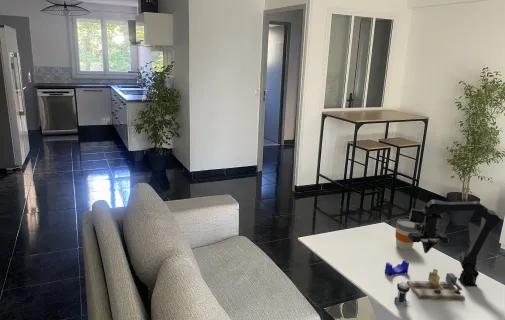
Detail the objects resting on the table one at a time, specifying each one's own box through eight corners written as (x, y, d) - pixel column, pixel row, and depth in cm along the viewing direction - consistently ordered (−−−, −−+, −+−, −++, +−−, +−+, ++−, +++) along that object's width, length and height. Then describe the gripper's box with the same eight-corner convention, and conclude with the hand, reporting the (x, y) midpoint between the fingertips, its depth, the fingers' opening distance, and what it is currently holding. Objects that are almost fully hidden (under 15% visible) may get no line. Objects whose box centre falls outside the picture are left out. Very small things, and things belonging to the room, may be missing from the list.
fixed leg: (450, 282, 191) (452, 273, 189) (462, 294, 181) (464, 285, 179) (444, 282, 190) (446, 273, 189) (456, 294, 180) (458, 285, 179)
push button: (407, 301, 177) (410, 281, 174) (411, 308, 171) (415, 288, 169) (392, 300, 177) (395, 280, 174) (396, 307, 172) (399, 287, 169)
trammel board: (449, 283, 193) (450, 278, 192) (464, 299, 180) (465, 294, 179) (406, 283, 191) (407, 278, 190) (419, 299, 179) (420, 293, 178)
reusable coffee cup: (388, 243, 233) (392, 220, 229) (403, 240, 238) (407, 217, 234) (404, 252, 222) (408, 229, 218) (419, 249, 227) (424, 226, 223)
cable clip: (401, 268, 205) (403, 258, 203) (407, 273, 201) (409, 262, 199) (382, 271, 201) (384, 261, 199) (388, 276, 197) (390, 265, 195)
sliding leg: (433, 281, 190) (436, 268, 188) (444, 293, 180) (447, 279, 178) (427, 281, 190) (430, 267, 188) (438, 293, 180) (441, 279, 178)
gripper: (440, 218, 202) (434, 245, 206) (405, 217, 201) (401, 244, 205) (452, 228, 191) (446, 256, 195) (415, 226, 190) (410, 255, 194)
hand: (425, 252), depth 197 cm, fingers closed
